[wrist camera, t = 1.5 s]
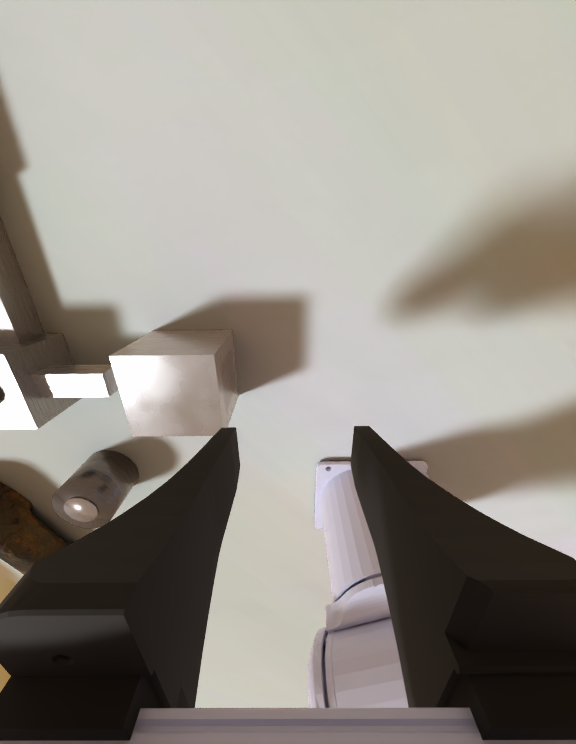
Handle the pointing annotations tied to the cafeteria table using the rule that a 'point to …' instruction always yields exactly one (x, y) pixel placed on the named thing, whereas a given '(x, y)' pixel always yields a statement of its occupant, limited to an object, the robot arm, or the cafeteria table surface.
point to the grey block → (178, 382)
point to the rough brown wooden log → (23, 532)
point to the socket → (96, 489)
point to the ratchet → (37, 358)
